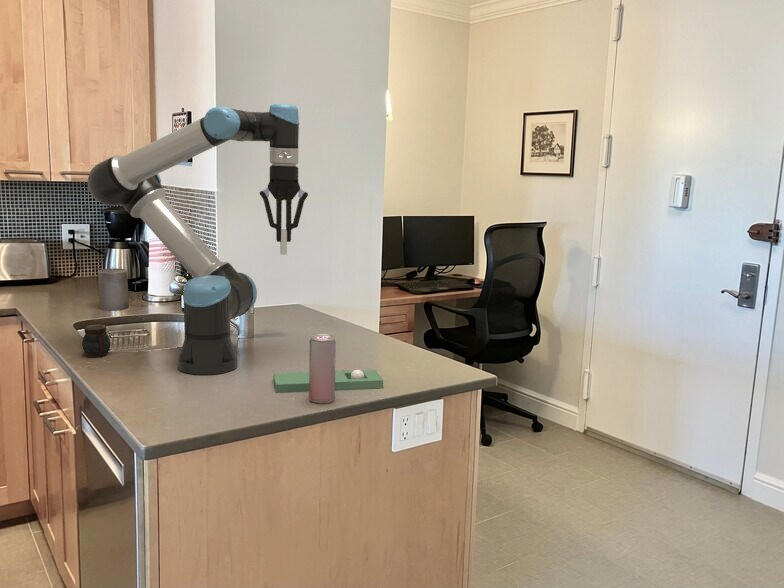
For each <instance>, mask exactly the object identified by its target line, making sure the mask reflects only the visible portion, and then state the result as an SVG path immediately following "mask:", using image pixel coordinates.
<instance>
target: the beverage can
mask: <svg viewBox="0 0 784 588" xmlns="http://www.w3.org/2000/svg"><path fill="white" fill-rule="evenodd" d="M336 347H337V340H336V337H335V336H334V335H332V334H328V333H319V334H318V333H317V334H313V335H311V336H310V340H309V351H308V352H309V353H308V354H309V358H308V359H309V366H308V372H309V391H308V398H309V400H310V401H311V402H312V403H315V404H319V405H320V404H330V403H332V402H333V401H334V399H335V398H336V390H335V371H336V356H337V355H336V354H337V353H336V350H337V348H336Z"/></svg>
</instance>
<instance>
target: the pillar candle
mask: <svg viewBox="0 0 784 588" xmlns="http://www.w3.org/2000/svg"><path fill="white" fill-rule="evenodd" d="M97 275H98V276H97V277H98V279H97V280H98V293H99V294H98V295H99V309H100V310H102V311H106V312H107V311H123V310H127V309H128V308H129V307H130V302H129V301H130V300H129V286H128V285H129V284H128V283H129V282H128V270H127V269H126V268H114V267H112V268H104V269H99V270H98V271H97Z"/></svg>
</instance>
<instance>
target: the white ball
mask: <svg viewBox="0 0 784 588" xmlns="http://www.w3.org/2000/svg"><path fill="white" fill-rule="evenodd" d="M352 371H353V370H352ZM350 377H351V379H364V373H363V372H362V371H361V369H355V370H354V371H353V372H352V373H351V376H350Z"/></svg>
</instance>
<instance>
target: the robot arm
mask: <svg viewBox="0 0 784 588" xmlns="http://www.w3.org/2000/svg"><path fill="white" fill-rule="evenodd" d="M299 118H300V117H299V108H298V107H297V106H296V105H293V104H285V103H283V104H282V103H271V104H270V105H269V110H268V111H264V112H261V111H260V112H259V111H246V110H242V109H235V108H230V107H228V106H215V107H212V108H210V109H208V110H207V112H206V114H205V115H204V116H203V117H202V118H200V119H198V120H196V121H193V122H191V123H189V124H187V125H184V126H183V127H181V128H179V129H177V130H174V131H173V132H170V133H169V134H166V135H164V136H162V137H160V138H158V139H156V140H154V141H152V142H150V143H148V144H146V145H144V146H142V147H140V148H138V149H135V150H134V151H131V152H129V153H127V154H125V155H121V154H116V155H114V156H111V157H110V158H109V157H108V159H104V160H102V161H101V162H99V163H97V164H95V165H94V166H93V167H92V168H91V170H90V171H89V174H88V176H87V186H88V190H89V192H90V194H91V196H93V198H95V200H97V201H98V202H100V203H101V204H103V205H107V206H122V207H123V208H124V209H125V211H126V212H127V213H128V214H129V215H130V216H131V217H133V218H137V219H139V218H140V219H141V220H142V221H143V222H144V223H145V224H146V226H147V227H148V228H149V229H150V230H151V231H152V233H154V235H155V236H156V237H157V238H158V239H159V240H160V241H161V243H162V244H163V245H164V246H165V247H166V248H167V250H169V252H170V253H171V254H172V256H174V257H175V259H176V260H177V261H178V262H179V263H180V264H181V266H182V267H184V269H185V270H186V272H188V273H189V275H190V276H191V277H192V278H191V279H189V280H188V281H186V283H185V284H184V287H183V294H182V299H183V300H182V301H183V315H184V316H183V323H184V324H183V325H184V329H183V330H184V340H183V343H182V347H181V350H180V353H179V355H178V360H177V363H178V364H177V366H178V370H179V371H181V372H183V373H187V374H190V375H191V374H192V375H200V376H201V375H208V376H209V375H218V374H225V373H227V372H230V371H234V370H235V369H237V367H238V356H237V352H236V350H235V347H234V344H233V342H232V341H233V340H232V339H231V338H232V337H231V320H233V319H235V318H238V317H241V316H243V315H245V314H246V313H247V312H249V311H251V309H252V308H253V307H254V306H255V303H256V301H257V295H258V289H257V287H256V284H255V282H254V280H253V279H252V277H250V276H249V275H247V274H246V273H243V272H238V271H237V270H236V269H235V268H234V267H233V265H232V264H231V263H230V262H228V261H221V260H220V259H219V258H218V257H217V256H216V255H215V253H214V252H213V251H212V250H211V249H210V248H209V246H208V245H207V244H206V243H205V242H204V241H203V240H202V238H201V237H199V235H198V234H197V233H196V232H195V231H194V229H193V228H192V227H191V226H190V224H188V223H187V222H186V221H185V220H184V219H183V218H182V216H181V215H180V214H179V213H178V211H177V210H175V208H174V207H173V205H172V204H170V203H169V202H168V200H167V199H166V192H167V191H166V190H165V189H164V188H163V187H162V186H163V185H162V179H161V176H160V173H162V172H165V171H166V170H168V169H172V168H173V167H176V166H177V165H179V164H182V163H184V162H186V161H188V160H190V159H193V158H194V157H196V156H198V155H201V154H202V153H204V152H207V151H209V150H211V149H214V148H216V147H217V146H220V145H222V144H224V143H227V142H228V141H235V142H269V164H271V165H269V182H268V184H267V188H265V189H263V190H261V191H259V195H260V197H261V198H262V201H263V204H264V208H265V212H266V216H267V219H268V225H269V226H270V228H273V229H275V231H276V232H275V233H276V236H275V237H276V238H275V240H276V241H277V242H278V243H280V246H279V247H280V249H279V251H280V252H279V253H280V255H281V256H282V255H284V256H285V255H286V256H287V255H288V243H290V242H291V241H292V230H293V229H296V228H298V227H299V222H300V219H301V215H302V211H303V207H304V203H305V201H306V199H307V198H308V196H309V193H308V192H307V191H304V190H303V189H301V185H300V184H299V166H297V165H298V164H299V133H300V132H299V130H300V119H299ZM270 194H271V195H272V197H273V198H274V199H275V200H276V202H275V204H276V205H275V209H276V210H275V211H276V212H275V213H276V214H275V215H276V216H275V217H276V219H275V220H274V218H273V217H274V216H273V213H272V209H271V205H270V201H269V196H270ZM297 194H298V195H297ZM296 195H297V197H298V202H297V206H296V210H295V214H294V216H293V217H294V218H293V221H292V200H294V198H295V197H296ZM283 201H285V229H283V228H282V221H283V220H282V209H283V206H282V204H283Z"/></svg>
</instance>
